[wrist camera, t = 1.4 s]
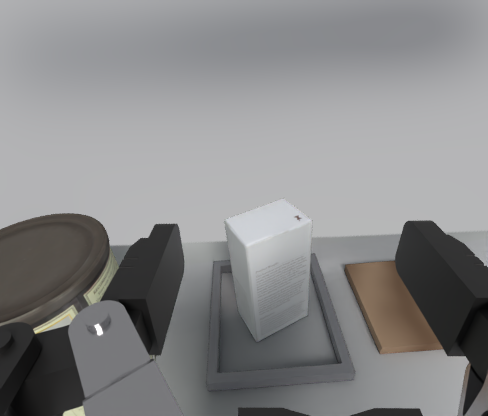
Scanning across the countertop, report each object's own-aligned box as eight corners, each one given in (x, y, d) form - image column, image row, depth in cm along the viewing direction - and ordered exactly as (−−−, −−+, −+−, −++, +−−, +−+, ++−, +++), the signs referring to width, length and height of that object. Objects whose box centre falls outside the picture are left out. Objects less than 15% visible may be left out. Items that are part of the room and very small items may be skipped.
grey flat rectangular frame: (314, 260, 37) (314, 253, 36) (353, 380, 25) (355, 372, 25) (215, 268, 37) (213, 261, 36) (208, 391, 25) (206, 383, 25)
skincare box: (284, 287, 34) (285, 195, 27) (308, 316, 30) (315, 220, 24) (235, 311, 32) (222, 217, 25) (255, 344, 28) (246, 247, 22)
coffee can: (32, 358, 29) (-63, 245, 21) (140, 308, 33) (95, 197, 25) (29, 479, 21) (-120, 374, 13) (171, 396, 25) (120, 276, 17)
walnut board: (431, 263, 35) (434, 257, 34) (494, 345, 27) (498, 338, 26) (344, 270, 35) (345, 264, 35) (379, 354, 27) (382, 347, 26)
